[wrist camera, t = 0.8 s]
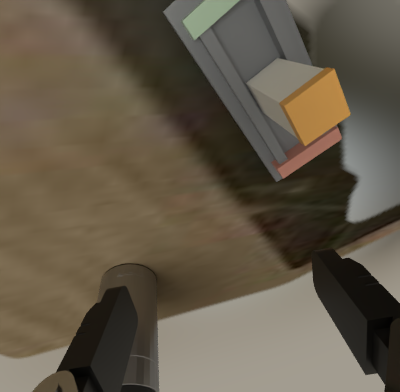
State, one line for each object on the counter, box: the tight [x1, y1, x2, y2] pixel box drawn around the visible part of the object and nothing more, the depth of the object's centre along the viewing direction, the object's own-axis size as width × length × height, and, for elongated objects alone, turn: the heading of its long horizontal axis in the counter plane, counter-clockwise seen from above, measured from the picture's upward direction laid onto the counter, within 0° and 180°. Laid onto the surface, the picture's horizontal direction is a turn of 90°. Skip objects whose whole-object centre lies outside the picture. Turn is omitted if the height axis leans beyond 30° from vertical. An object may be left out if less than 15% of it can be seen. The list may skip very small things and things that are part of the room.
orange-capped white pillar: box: [246, 58, 351, 146], centre depth 24 cm, size 4×4×10 cm
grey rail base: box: [163, 0, 342, 182], centre depth 28 cm, size 24×10×4 cm, turn 37°
